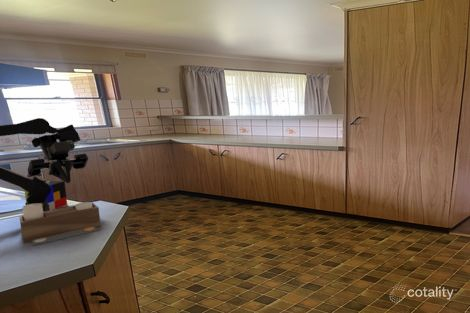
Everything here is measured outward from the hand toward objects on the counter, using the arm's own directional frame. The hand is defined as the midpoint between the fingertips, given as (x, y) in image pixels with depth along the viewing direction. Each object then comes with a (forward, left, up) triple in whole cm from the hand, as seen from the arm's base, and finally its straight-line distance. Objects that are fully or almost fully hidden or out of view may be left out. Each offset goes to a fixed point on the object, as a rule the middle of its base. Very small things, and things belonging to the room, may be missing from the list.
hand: (69, 182), depth 108 cm
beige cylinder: (+7, -5, -13) cm, 16 cm away
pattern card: (+6, -15, -14) cm, 21 cm away
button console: (+2, -10, -14) cm, 17 cm away
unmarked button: (-3, -14, -10) cm, 18 cm away
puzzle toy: (-22, +18, -14) cm, 31 cm away
